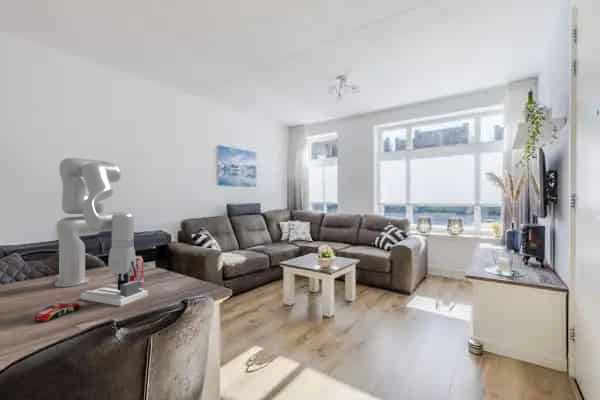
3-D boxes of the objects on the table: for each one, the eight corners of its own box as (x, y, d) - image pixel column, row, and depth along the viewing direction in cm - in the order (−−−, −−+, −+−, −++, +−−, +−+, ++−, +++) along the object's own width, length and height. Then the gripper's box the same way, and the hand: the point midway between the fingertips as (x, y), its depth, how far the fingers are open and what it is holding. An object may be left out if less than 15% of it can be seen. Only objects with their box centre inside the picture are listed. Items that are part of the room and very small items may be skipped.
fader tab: (120, 296, 109) (120, 284, 109) (133, 291, 114) (133, 280, 114) (126, 296, 108) (126, 285, 108) (138, 292, 113) (138, 281, 113)
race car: (71, 307, 104) (71, 296, 104) (83, 308, 103) (83, 297, 103) (31, 322, 91) (31, 310, 91) (44, 324, 90) (44, 311, 90)
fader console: (80, 299, 112) (80, 291, 112) (109, 289, 123) (109, 283, 123) (121, 306, 105) (121, 298, 105) (148, 295, 116) (147, 288, 116)
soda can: (135, 287, 126) (135, 259, 126) (121, 286, 128) (121, 258, 128) (147, 283, 133) (146, 255, 133) (134, 282, 135) (134, 255, 134)
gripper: (100, 244, 111) (100, 290, 111) (128, 246, 106) (128, 294, 106) (118, 241, 118) (118, 284, 118) (144, 243, 113) (144, 288, 113)
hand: (122, 289), depth 112 cm, fingers closed
